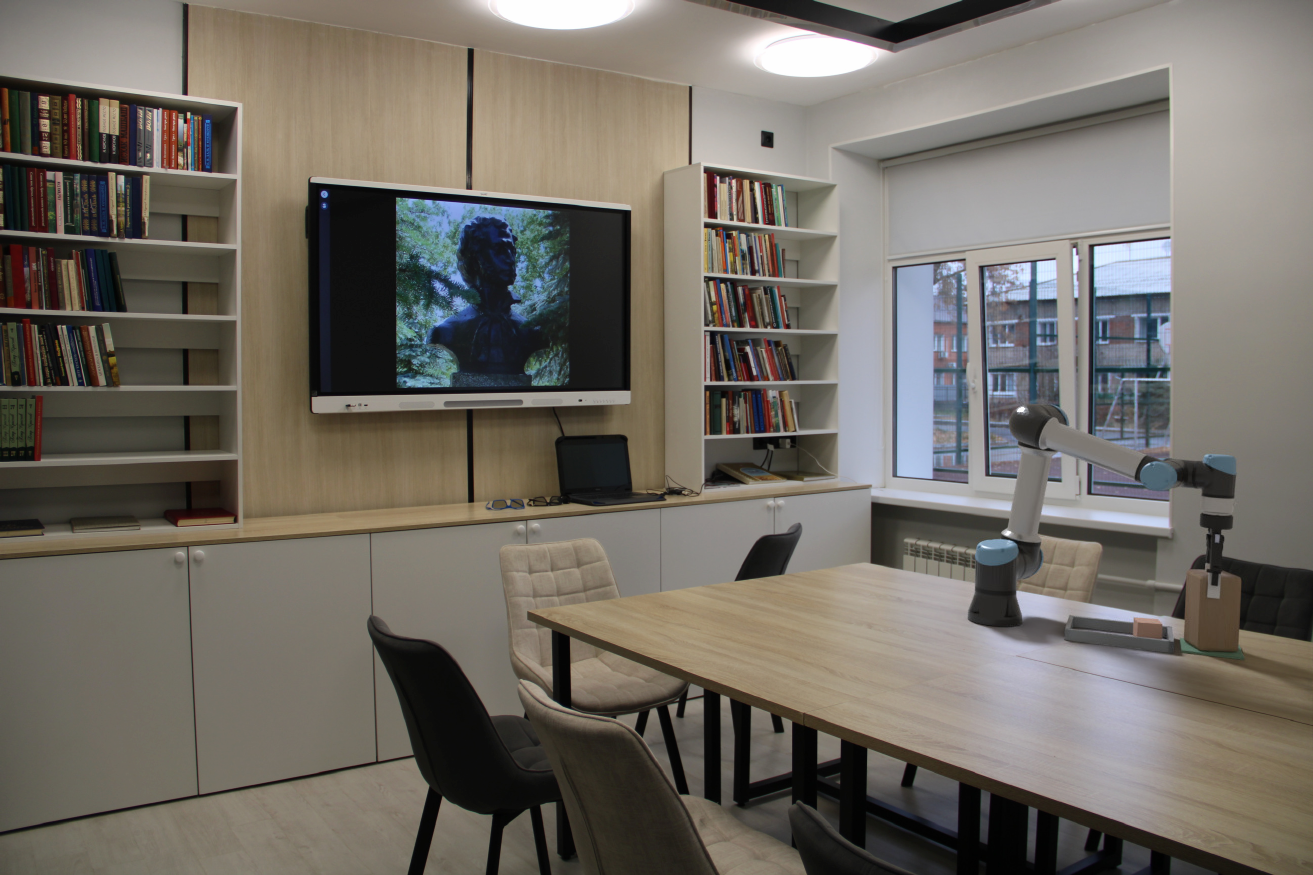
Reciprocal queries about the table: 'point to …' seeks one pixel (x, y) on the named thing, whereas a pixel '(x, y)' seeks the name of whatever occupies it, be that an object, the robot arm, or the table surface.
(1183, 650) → the pad
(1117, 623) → the bin
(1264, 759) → the table surface
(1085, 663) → the table surface
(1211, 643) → the wooden block
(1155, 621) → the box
